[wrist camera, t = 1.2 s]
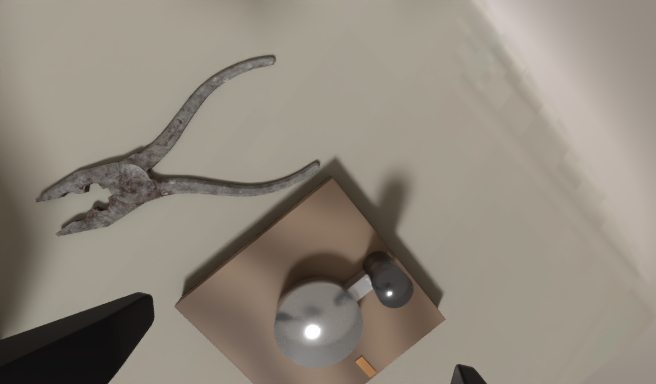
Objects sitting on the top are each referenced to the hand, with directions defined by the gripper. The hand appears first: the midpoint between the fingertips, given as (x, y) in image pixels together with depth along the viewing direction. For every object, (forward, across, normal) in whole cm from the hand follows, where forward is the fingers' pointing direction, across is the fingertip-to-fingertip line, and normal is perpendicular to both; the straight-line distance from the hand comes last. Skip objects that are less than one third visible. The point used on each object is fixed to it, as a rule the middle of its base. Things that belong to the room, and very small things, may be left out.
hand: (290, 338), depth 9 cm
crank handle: (+13, 0, +8) cm, 15 cm away
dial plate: (+14, +2, +10) cm, 17 cm away
